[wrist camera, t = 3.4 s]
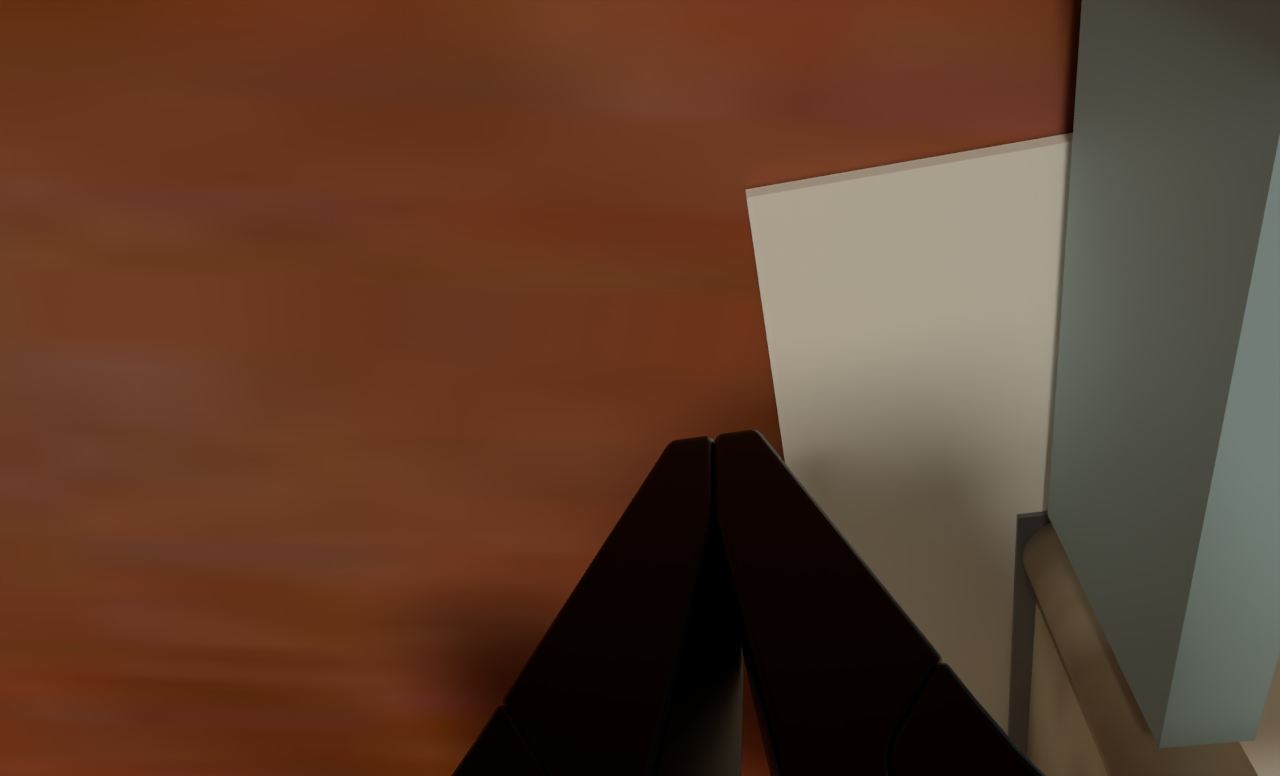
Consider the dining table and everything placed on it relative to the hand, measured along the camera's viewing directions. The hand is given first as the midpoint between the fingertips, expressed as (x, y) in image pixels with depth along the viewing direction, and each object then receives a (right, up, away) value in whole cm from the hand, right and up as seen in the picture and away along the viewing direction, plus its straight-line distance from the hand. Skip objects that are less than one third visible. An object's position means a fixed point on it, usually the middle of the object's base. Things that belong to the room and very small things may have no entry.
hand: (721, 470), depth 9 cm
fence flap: (+6, +3, +4) cm, 8 cm away
